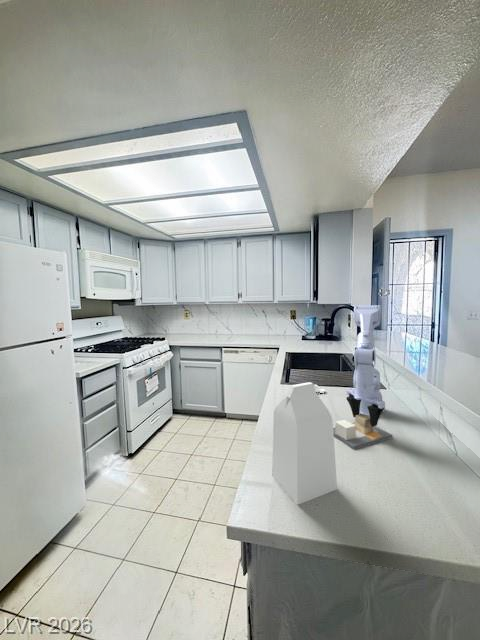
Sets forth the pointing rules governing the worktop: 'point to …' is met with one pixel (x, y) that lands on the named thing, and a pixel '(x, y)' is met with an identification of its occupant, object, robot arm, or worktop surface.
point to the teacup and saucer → (317, 389)
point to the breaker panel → (364, 437)
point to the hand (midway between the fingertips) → (364, 421)
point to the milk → (303, 445)
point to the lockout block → (363, 423)
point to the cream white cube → (345, 429)
